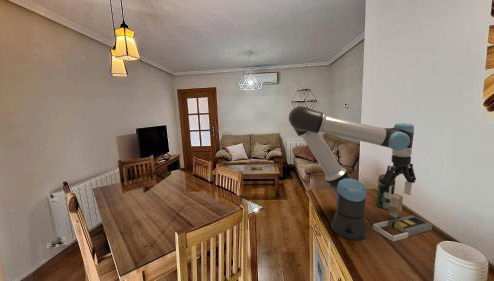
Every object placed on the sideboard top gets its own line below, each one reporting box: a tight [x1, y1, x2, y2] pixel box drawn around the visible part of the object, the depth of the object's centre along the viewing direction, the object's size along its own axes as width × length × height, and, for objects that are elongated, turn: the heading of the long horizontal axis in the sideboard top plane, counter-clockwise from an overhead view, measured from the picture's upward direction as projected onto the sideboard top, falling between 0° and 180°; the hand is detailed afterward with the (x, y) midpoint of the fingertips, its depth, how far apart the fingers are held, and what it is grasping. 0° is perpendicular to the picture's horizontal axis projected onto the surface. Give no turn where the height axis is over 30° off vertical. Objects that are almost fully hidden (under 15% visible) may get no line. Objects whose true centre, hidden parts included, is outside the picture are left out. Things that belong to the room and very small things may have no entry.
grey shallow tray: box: [387, 214, 433, 237], centre depth 96 cm, size 16×9×3 cm, turn 107°
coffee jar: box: [376, 173, 396, 211], centre depth 116 cm, size 10×8×19 cm
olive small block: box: [402, 219, 416, 228], centre depth 95 cm, size 3×4×3 cm
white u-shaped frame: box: [371, 220, 409, 242], centre depth 92 cm, size 9×10×2 cm
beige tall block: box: [388, 193, 404, 220], centre depth 103 cm, size 4×4×13 cm
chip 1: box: [394, 221, 408, 233], centre depth 94 cm, size 3×4×3 cm
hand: (397, 196), depth 102 cm, fingers open, 13 cm apart
